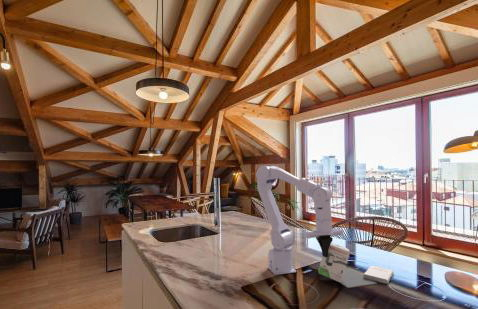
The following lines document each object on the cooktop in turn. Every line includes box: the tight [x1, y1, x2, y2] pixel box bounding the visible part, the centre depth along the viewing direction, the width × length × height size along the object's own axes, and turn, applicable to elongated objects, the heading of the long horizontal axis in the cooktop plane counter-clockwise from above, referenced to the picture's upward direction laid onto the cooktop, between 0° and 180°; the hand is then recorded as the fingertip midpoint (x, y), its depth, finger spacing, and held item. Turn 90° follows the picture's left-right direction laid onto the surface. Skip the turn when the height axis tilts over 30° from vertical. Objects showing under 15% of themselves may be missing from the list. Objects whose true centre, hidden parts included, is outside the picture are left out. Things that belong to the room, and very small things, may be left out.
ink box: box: [317, 242, 351, 284], centre depth 99 cm, size 9×5×12 cm, turn 71°
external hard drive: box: [362, 265, 394, 284], centre depth 102 cm, size 2×8×12 cm
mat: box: [338, 268, 378, 289], centre depth 101 cm, size 12×14×1 cm
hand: (325, 256), depth 97 cm, fingers closed, pressing on ink box
